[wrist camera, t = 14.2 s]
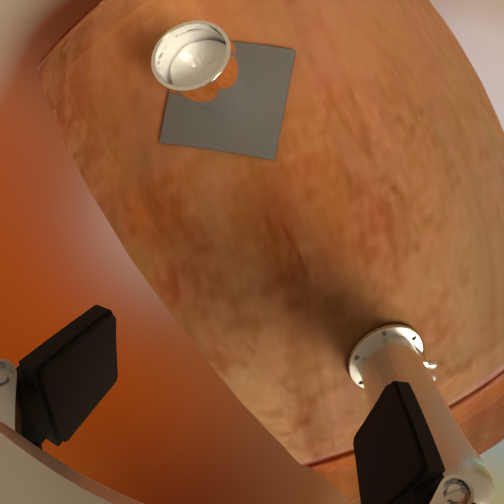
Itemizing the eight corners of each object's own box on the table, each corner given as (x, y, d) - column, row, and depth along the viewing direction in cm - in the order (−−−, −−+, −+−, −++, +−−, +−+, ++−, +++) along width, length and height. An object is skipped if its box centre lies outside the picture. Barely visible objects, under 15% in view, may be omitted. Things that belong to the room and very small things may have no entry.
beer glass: (225, 60, 32) (190, 5, 17) (265, 92, 32) (252, 46, 18) (187, 98, 34) (132, 65, 19) (226, 131, 34) (188, 110, 20)
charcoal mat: (295, 52, 31) (295, 50, 30) (274, 160, 36) (274, 160, 35) (184, 41, 32) (182, 39, 31) (161, 143, 36) (159, 142, 36)
